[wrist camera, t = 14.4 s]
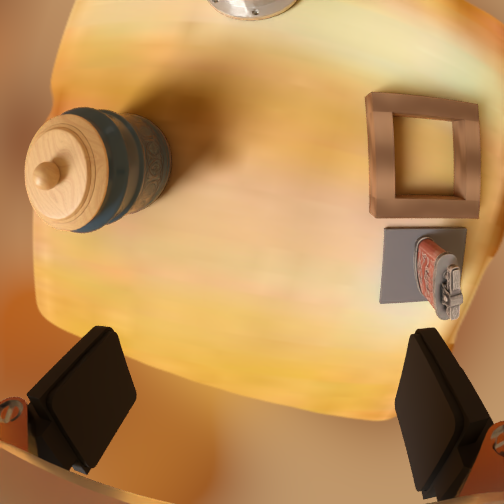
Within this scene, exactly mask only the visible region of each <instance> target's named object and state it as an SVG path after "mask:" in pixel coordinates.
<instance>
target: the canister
mask: <svg viewBox="0 0 504 504" xmlns="http://www.w3.org/2000/svg"><path fill="white" fill-rule="evenodd" d="M171 166H172V157H171V150H170V147H169V144H168V141H167V139H166V137H165V135H164V134H163V132H162V131H161V130H160V129H159V128H158V127H157V126H156V125H155V124H154V123H152V122H151V121H150V120H148V119H146V118H144V117H142V116H139V115H135V114H128V113H124V114H120V113H116V112H113V111H110V110H104V109H94V108H89V107H78V108H74V109H71V110H68V111H66V112H64V113H63V114H61V115H59V116H56V117H54V118H52V119H50V120H49V121H47V122H46V123H45V124H44V125H43V126H42V127H41V128H40V129H39V130H38V131H37V133H36V134H35V136H34V138H33V140H32V142H31V144H30V146H29V149H28V152H27V156H26V163H25V184H26V189H27V193H28V197H29V200H30V202H31V204H32V206H33V208H34V210H35V212H36V213H37V214H38V216H39V217H40V218H41V219H42V220H43V221H44V222H45V223H46V224H48V225H49V226H51V227H53V228H55V229H58V230H62V231H71V232H75V233H89V232H93V231H96V230H98V229H100V228H101V227H103V226H104V225H108V224H111V223H113V222H116V221H117V220H119V219H121V218H122V217H123V216H125V215H127V214H132V213H136V212H138V211H140V210H143V209H145V208H146V207H148V206H149V205H151V204H152V203H153V202H154V201H155V200H156V199H157V198H158V197H159V196H160V194H161V193H162V192H163V190H164V188H165V187H166V185H167V182H168V180H169V177H170V173H171Z"/></svg>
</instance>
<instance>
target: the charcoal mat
mask: <svg viewBox="0 0 504 504" xmlns="http://www.w3.org/2000/svg"><path fill="white" fill-rule="evenodd" d="M466 233H467V229H466V228H384V250H383V266H382V279H381V291H380V301H379V302H380V304H386V303H403V302H418V301H428V300H427V299H426V297H425V296H424V295H422V294H421V293H420V292H419V291H418V288H417V284H416V280H415V274H414V259H413V256H414V244H415V241H416V240H417V239H418V238H419V237H421V236H429V237H430V238H431V239H433V240H434V242H435V243H436V244H437V245H438V246H440V247H441V248H442V249H444V250H445V251H446V252H450V253H452V254H453V255H454V256H455V257H456V258H457V261H458V266H459V268H460V279H461V273H462V266H463V259H464V251H465V243H466Z"/></svg>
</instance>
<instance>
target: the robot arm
mask: <svg viewBox="0 0 504 504" xmlns="http://www.w3.org/2000/svg"><path fill="white" fill-rule="evenodd" d="M296 1H297V0H208V2H209V3H210V5H211V6H212V7H213V8H214V9H215V10H217V11H218V12H220V13H221V14H223V15H226V16H228V17H230V18H235V19H239V20H261V19H266V18H270V17H273V16H276V15H278V14H280V13H282V12H284V11H286V10H287V9H289V8H290V7H291V6H292V5H293V4H294V3H295V2H296ZM254 14H258V15H254ZM27 396H28V398H29V399H30V403H29V405H27V403H26V401H25V400H24V399H22V398H20V397H9V398H6V399H4V400H2V401H0V504H173V503H169V502H164V501H160V500H156V499H152V498H148V497H144V496H141V495H137V494H134V493H130V492H127V491H123V490H120V489H117V488H114V487H110V486H108V485H104V484H102V483H99V482H96V481H93V480H91V479H88V478H85V477H83V476H80V475H77V474H75V473H73V472H70V468H71V467H73V468H74V470H76V471H79V472H81V473H84V474H86V475H87V474H88V473H89V471H90V469H91V468H94V467H95V466H96V465H97V463H98V462H99V460H100V458H101V457H102V455H103V453H104V452H105V450H106V448H107V446H108V445H109V443H110V442H111V440H112V438H113V437H114V435H115V433H116V432H117V430H118V428H119V427H120V425H121V424H122V422H123V420H124V419H125V417H126V415H127V414H128V412H129V410H130V409H131V407H132V406H133V404H134V402H135V400H136V390H135V387H134V384H133V382H132V378H131V375H130V373H129V370H128V367H127V364H126V361H125V357H124V354H123V351H122V348H121V344H120V341H119V338H118V335H117V333H116V332H114V330H113V329H112V328H111V327H104V326H95V327H93V328H92V329H91V330H90V331H89V332H88V333H87V334H86V335H85V336H84V337H83V338H82V339H81V340H80V341H79V342H78V343H77V344H76V345H75V346H74V347H73V348H72V349H71V350H70V351H69V352H68V353H67V354H66V355H65V356H63V357H62V359H60V360H59V361H58V362H57V364H56V365H54V366H53V368H52V369H51V370H49V372H48V373H47V374H46V375H45V376H44V377H43V378H42V379H41V380H40V381H39V382H38V383H37V384H36V385H35V386H34V387H33V388H32V389H31V390H30V391H29V392H28V393H27ZM395 410H396V413H397V417H398V420H399V424H400V427H401V431H402V435H403V438H404V442H405V446H406V450H407V454H408V458H409V462H410V466H411V470H412V474H413V478H414V483H415V487H416V489H417V491H422V495H423V499H428V498H432V497H437V501H438V502H433V503H427V504H504V421H500V422H498V423H495V424H494V423H493V421H492V419H491V418H490V416H489V414H488V412H487V410H486V408H485V407H484V405H483V403H482V401H481V399H480V398H479V396H478V394H477V392H476V391H475V389H474V387H473V386H472V384H471V382H470V380H469V379H468V377H467V376H466V374H465V372H464V371H463V369H462V368H461V367H460V366H459V364H458V362H457V361H456V359H455V357H454V356H453V354H452V353H451V351H450V350H449V348H448V346H447V345H446V343H445V342H444V340H443V339H442V337H441V336H440V334H439V333H438V331H437V330H436V329H435V328H423V329H417V330H416V332H415V334H411V336H410V338H409V343H408V348H407V353H406V357H405V362H404V366H403V371H402V375H401V379H400V383H399V387H398V391H397V394H396V398H395Z"/></svg>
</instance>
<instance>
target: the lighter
mask: <svg viewBox="0 0 504 504" xmlns="http://www.w3.org/2000/svg"><path fill="white" fill-rule="evenodd" d="M413 259H414V274H415V280H416V284H417V288H418V291H419V292H420V293H421V294H422V295H424V296H425V297H426V299H427V300H428V301H429V302H430V304H431V305H432V306H433V308H434V309H435V311H436V314H437V316H438V317H439V318H440V319H442V320H447V319H451V320H455V319H457V318H458V317H459V310H460V305H461V304H462V303H463V295H462V293H461V290H460V268H459V266H458V261H457V258H456V257H455V256H454V255H453V254H452V253H450V252H446V251H445V250H444V249H442V248H441V247H440V246H438V245H437V244H436V243H435V242H434V240H433V239H431V238H430V237H429V236H421V237H419V238H418V239H417V240H416V241H415V244H414V256H413Z"/></svg>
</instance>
